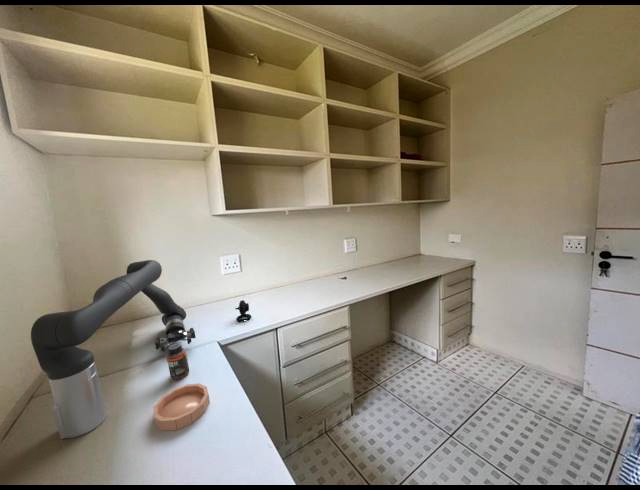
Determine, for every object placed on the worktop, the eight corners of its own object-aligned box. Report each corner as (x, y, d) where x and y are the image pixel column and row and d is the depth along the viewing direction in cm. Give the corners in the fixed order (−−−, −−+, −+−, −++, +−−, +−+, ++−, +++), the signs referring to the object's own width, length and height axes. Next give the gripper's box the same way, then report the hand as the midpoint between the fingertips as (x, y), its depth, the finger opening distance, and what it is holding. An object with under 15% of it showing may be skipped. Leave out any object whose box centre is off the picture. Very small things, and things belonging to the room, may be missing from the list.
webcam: (250, 321, 131) (248, 302, 129) (235, 323, 130) (232, 304, 128) (252, 314, 139) (250, 297, 137) (237, 316, 137) (235, 299, 136)
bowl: (154, 439, 66) (152, 429, 65) (156, 405, 78) (154, 396, 77) (212, 414, 73) (210, 404, 72) (205, 385, 85) (204, 377, 84)
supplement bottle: (185, 367, 96) (180, 339, 94) (192, 373, 92) (187, 344, 90) (167, 376, 91) (162, 347, 89) (174, 383, 87) (169, 352, 86)
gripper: (154, 326, 110) (153, 343, 96) (191, 317, 117) (195, 331, 103) (157, 342, 111) (156, 361, 97) (194, 332, 118) (197, 348, 104)
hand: (176, 345), depth 100 cm, fingers open, 8 cm apart
